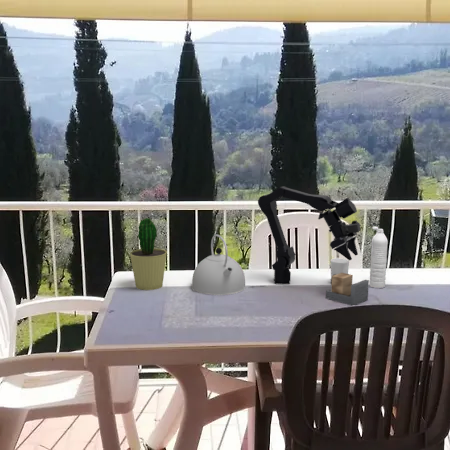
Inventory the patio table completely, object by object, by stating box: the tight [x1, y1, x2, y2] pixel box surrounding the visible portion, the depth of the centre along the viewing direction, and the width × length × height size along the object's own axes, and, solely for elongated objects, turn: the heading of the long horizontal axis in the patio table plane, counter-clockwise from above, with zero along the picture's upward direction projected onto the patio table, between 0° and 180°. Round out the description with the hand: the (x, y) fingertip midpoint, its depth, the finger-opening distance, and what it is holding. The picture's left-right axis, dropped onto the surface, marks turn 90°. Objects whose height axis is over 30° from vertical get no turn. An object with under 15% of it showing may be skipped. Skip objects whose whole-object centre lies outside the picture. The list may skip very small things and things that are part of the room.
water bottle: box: [369, 226, 389, 289], centre depth 234 cm, size 9×6×25 cm
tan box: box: [330, 273, 353, 296], centre depth 220 cm, size 6×7×8 cm
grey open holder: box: [325, 279, 370, 306], centre depth 218 cm, size 13×10×8 cm
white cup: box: [330, 257, 350, 279], centre depth 240 cm, size 8×8×10 cm
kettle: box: [191, 234, 246, 296], centre depth 231 cm, size 25×23×23 cm
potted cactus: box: [129, 217, 168, 291], centre depth 232 cm, size 15×15×30 cm
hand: (353, 257), depth 224 cm, fingers open, 9 cm apart
